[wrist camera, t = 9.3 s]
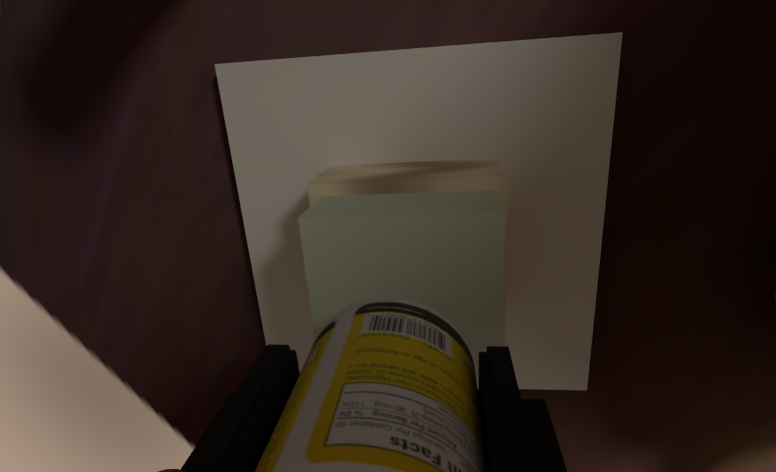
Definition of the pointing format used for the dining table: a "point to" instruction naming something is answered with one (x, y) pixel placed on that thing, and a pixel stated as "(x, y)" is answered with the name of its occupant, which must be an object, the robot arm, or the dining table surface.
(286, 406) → the supplement bottle
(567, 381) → the base plate
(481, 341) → the sage block
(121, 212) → the dining table surface
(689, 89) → the dining table surface
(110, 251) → the dining table surface
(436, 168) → the birch block
